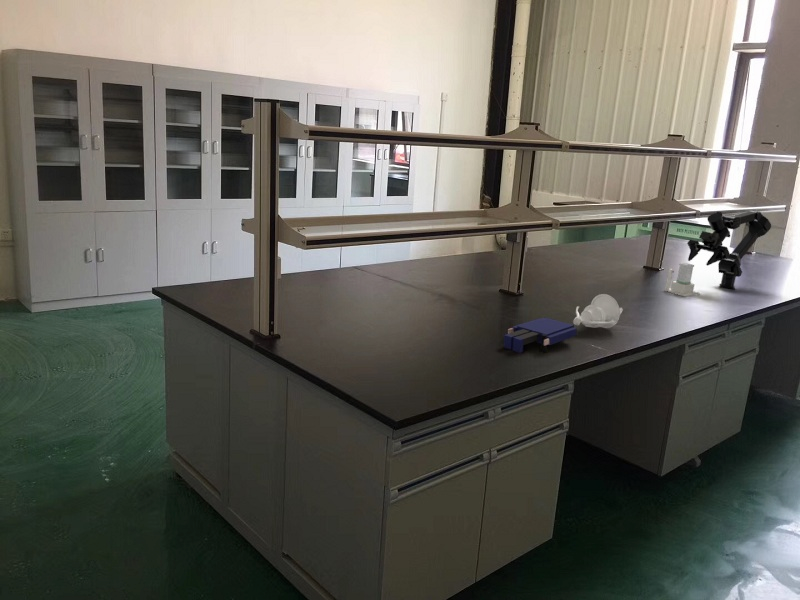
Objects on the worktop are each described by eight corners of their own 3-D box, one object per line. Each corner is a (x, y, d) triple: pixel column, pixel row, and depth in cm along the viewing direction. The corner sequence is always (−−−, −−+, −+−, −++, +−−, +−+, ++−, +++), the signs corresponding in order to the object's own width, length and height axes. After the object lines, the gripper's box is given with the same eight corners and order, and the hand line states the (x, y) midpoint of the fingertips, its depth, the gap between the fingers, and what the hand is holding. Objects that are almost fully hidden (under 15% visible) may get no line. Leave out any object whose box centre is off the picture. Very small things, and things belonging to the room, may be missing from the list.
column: (680, 290, 297) (685, 262, 294) (689, 292, 294) (694, 265, 290) (674, 291, 295) (679, 263, 292) (682, 293, 292) (688, 265, 288)
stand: (678, 288, 302) (682, 267, 299) (699, 294, 293) (703, 272, 290) (663, 290, 296) (667, 268, 294) (684, 296, 288) (688, 274, 285)
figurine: (642, 299, 229) (599, 309, 213) (635, 331, 233) (592, 343, 217) (602, 285, 241) (558, 294, 226) (595, 316, 245) (552, 327, 229)
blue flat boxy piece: (493, 330, 208) (543, 314, 224) (493, 348, 210) (542, 332, 226) (531, 341, 197) (581, 324, 213) (530, 360, 199) (579, 342, 214)
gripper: (693, 221, 301) (673, 246, 298) (731, 228, 286) (711, 255, 283) (701, 238, 307) (681, 262, 304) (738, 246, 292) (718, 271, 289)
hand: (697, 262), depth 295 cm, fingers open, 9 cm apart
